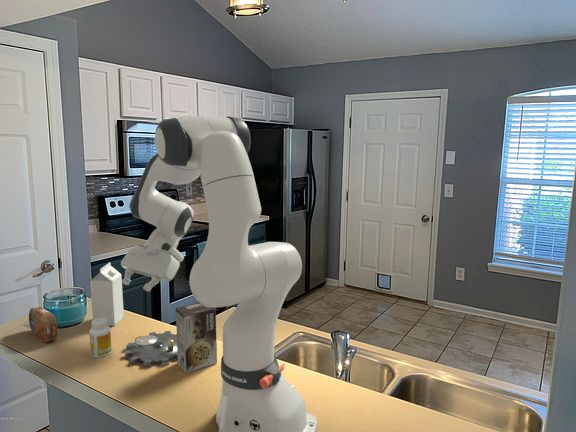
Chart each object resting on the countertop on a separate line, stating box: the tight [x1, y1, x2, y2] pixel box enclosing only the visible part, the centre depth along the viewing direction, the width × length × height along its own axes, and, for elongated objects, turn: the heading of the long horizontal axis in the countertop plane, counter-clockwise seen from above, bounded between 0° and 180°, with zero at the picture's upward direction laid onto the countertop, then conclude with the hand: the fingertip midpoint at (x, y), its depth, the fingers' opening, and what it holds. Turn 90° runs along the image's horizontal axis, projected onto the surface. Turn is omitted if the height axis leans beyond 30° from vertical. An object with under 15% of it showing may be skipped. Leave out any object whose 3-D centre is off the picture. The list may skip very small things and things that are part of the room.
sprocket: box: [124, 330, 178, 368], centre depth 124 cm, size 18×18×4 cm
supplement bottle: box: [88, 318, 112, 358], centre depth 121 cm, size 5×5×10 cm
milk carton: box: [89, 262, 125, 327], centre depth 140 cm, size 7×7×19 cm
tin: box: [28, 306, 58, 343], centre depth 130 cm, size 15×3×8 cm, turn 50°
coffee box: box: [175, 302, 218, 374], centre depth 116 cm, size 9×6×16 cm
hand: (135, 286), depth 129 cm, fingers open, 8 cm apart
